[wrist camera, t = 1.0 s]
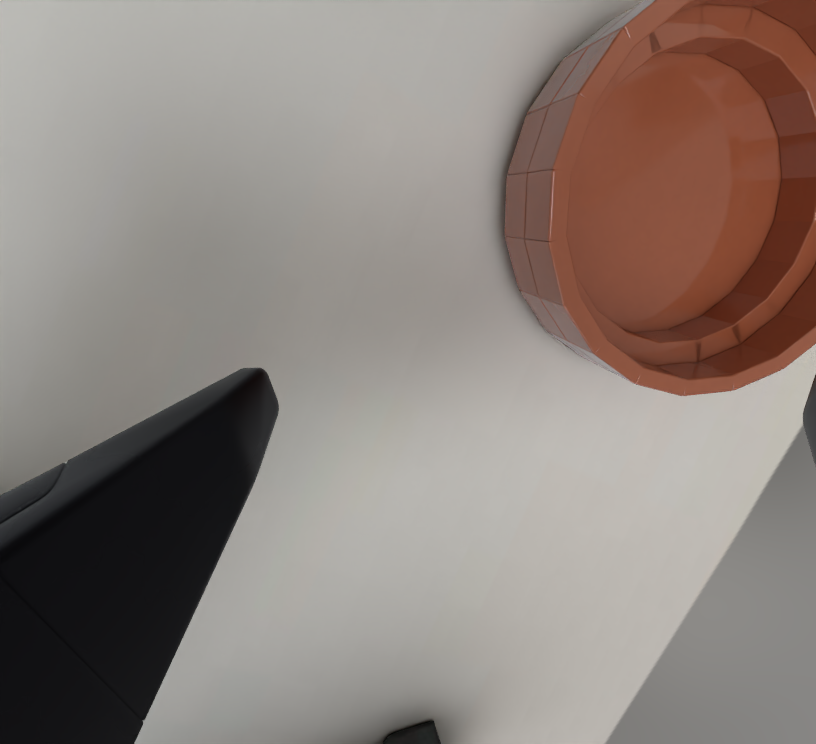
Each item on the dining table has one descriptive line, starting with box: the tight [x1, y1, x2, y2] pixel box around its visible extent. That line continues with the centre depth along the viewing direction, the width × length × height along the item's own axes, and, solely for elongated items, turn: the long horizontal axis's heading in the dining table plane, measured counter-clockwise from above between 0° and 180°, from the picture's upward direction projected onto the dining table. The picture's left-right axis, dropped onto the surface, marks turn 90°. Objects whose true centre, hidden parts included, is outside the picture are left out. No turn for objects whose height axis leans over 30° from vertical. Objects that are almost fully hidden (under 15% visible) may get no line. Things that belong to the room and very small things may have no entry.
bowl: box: [505, 0, 816, 396], centre depth 21 cm, size 14×14×4 cm
